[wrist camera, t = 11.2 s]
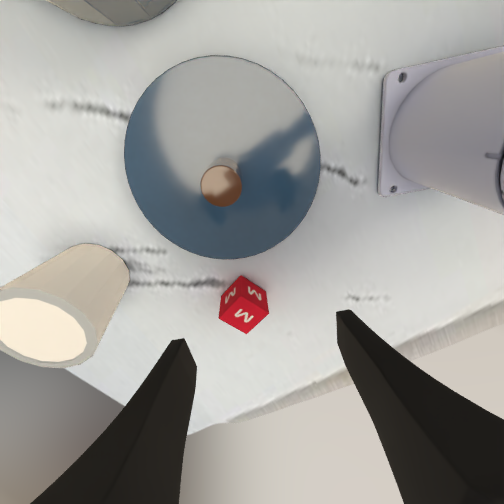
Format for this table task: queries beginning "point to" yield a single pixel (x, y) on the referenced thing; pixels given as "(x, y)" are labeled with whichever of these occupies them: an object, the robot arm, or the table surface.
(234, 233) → the lid
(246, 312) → the red letter cube
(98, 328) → the beige cup
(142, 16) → the bowl
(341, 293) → the table surface
